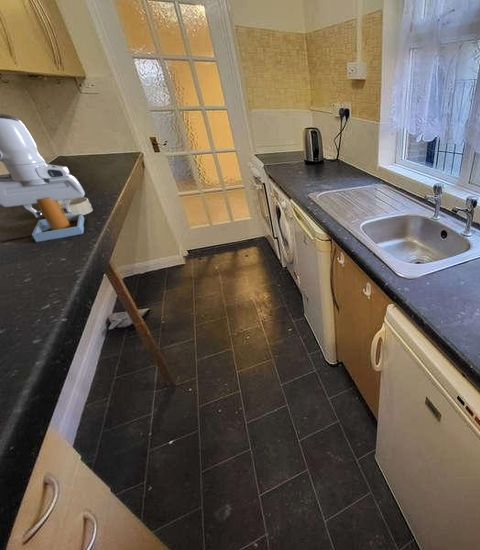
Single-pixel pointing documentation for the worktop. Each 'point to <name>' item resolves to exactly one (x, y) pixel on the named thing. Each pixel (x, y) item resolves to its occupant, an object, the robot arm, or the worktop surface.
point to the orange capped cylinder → (53, 214)
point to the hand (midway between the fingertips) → (54, 214)
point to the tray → (60, 233)
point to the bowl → (77, 206)
